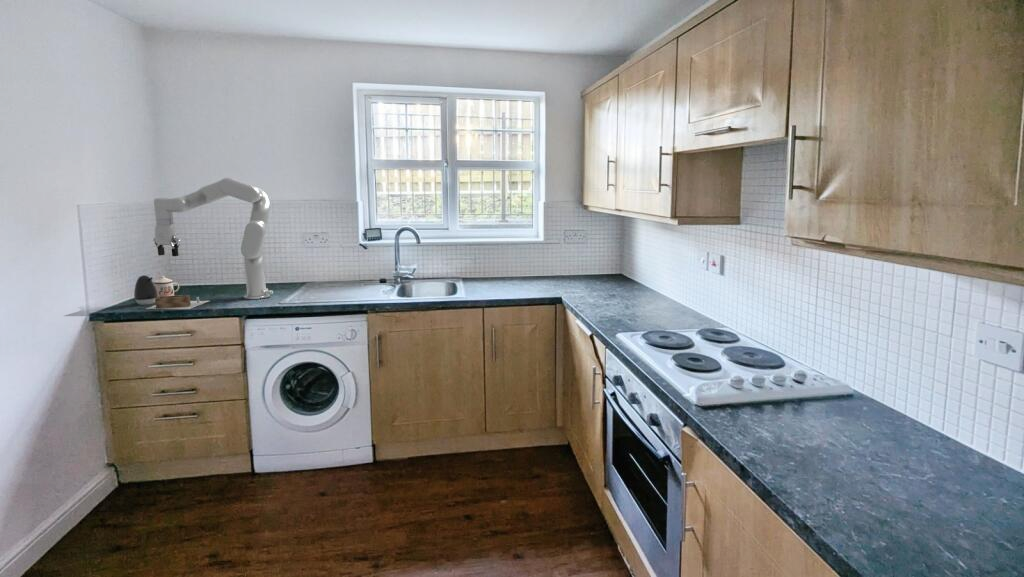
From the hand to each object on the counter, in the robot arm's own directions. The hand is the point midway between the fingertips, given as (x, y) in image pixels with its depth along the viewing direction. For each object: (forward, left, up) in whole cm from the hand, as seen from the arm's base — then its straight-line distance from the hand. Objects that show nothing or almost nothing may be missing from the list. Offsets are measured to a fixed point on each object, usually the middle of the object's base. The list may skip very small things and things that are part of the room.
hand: (168, 255), depth 286 cm
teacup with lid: (+11, -13, -25) cm, 30 cm away
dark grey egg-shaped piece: (+10, +6, -25) cm, 27 cm away
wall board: (-8, +9, -25) cm, 27 cm away
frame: (-8, +13, -24) cm, 28 cm away
